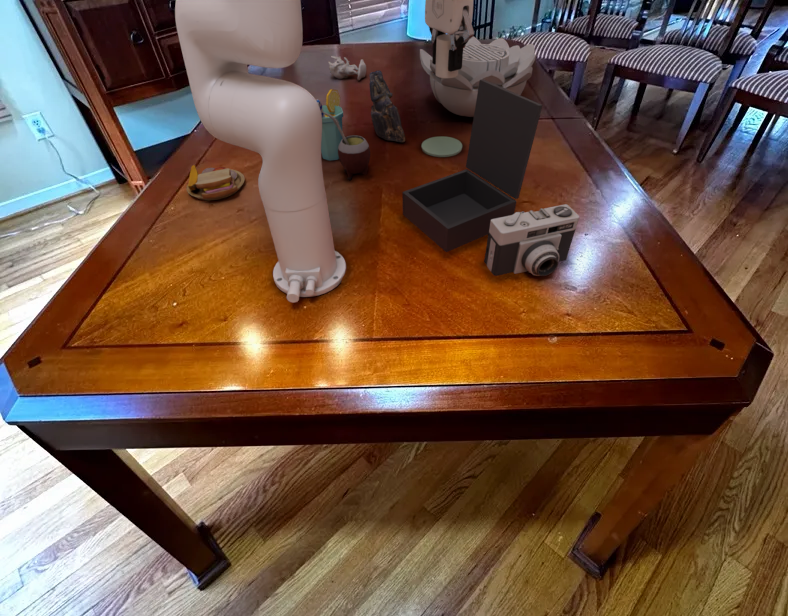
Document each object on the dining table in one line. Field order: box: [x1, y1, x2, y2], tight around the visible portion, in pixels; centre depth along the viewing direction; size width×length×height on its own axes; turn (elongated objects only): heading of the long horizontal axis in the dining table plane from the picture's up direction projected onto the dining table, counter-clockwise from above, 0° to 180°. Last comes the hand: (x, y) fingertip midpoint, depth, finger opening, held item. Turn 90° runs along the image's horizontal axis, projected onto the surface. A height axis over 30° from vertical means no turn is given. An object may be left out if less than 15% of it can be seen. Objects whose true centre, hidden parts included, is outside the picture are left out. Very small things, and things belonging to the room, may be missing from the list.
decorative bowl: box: [419, 36, 537, 118], centre depth 120 cm, size 30×30×15 cm
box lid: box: [465, 79, 543, 200], centre depth 81 cm, size 16×15×1 cm
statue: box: [368, 69, 406, 143], centre depth 110 cm, size 6×12×15 cm, turn 39°
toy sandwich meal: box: [185, 164, 246, 201], centre depth 98 cm, size 12×14×5 cm
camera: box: [483, 203, 580, 277], centre depth 74 cm, size 14×8×10 cm, turn 106°
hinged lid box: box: [401, 168, 517, 253], centre depth 86 cm, size 16×15×6 cm
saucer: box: [421, 135, 463, 158], centre depth 110 cm, size 10×10×1 cm
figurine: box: [328, 55, 367, 82], centre depth 145 cm, size 9×6×12 cm
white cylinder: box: [435, 33, 459, 78], centre depth 93 cm, size 5×5×7 cm
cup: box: [315, 88, 344, 161], centre depth 103 cm, size 14×8×15 cm, turn 169°
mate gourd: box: [322, 111, 371, 182], centre depth 97 cm, size 8×8×15 cm
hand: (446, 65), depth 94 cm, fingers closed on white cylinder, 4 cm apart
